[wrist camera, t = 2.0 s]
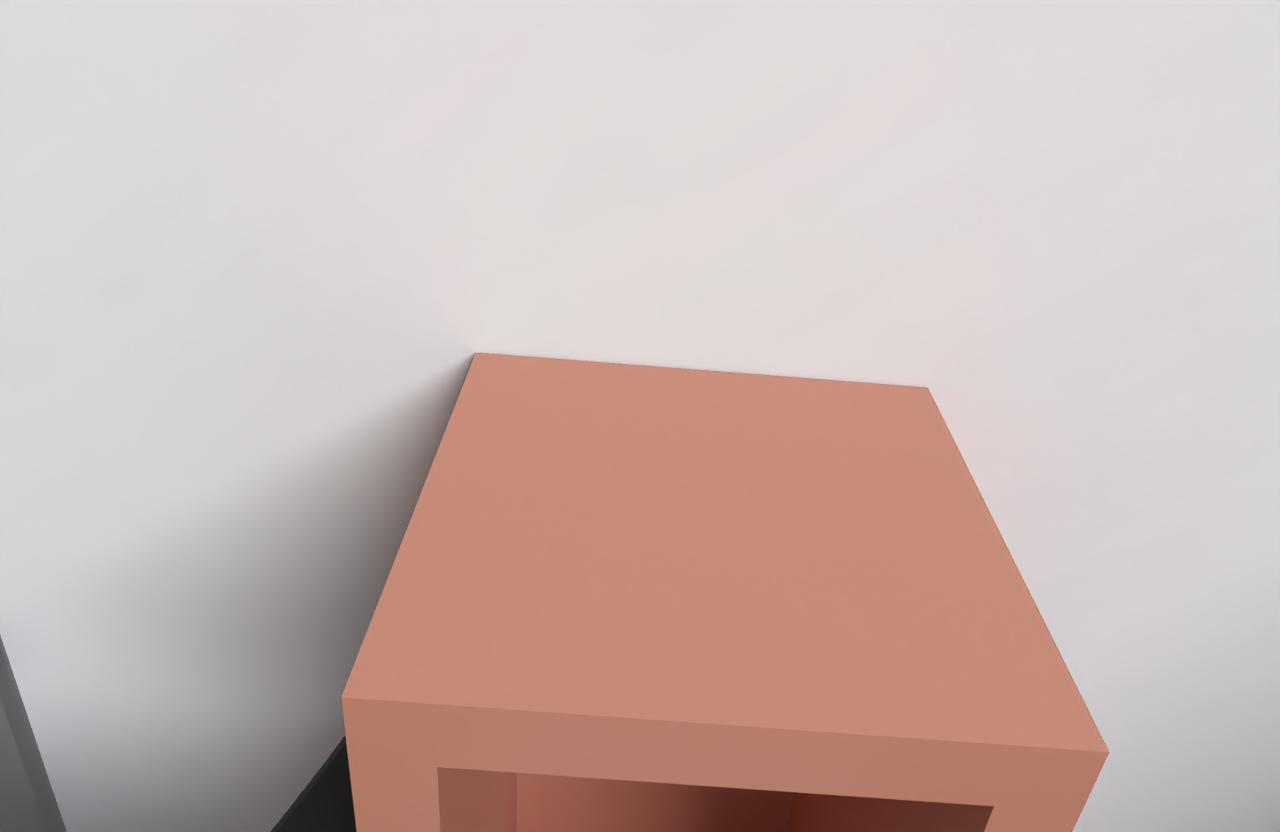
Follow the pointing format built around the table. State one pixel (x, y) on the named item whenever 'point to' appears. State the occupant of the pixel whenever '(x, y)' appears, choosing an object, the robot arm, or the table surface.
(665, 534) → the terracotta crate
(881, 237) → the table surface
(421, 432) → the table surface
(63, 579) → the table surface
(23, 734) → the charcoal crate
